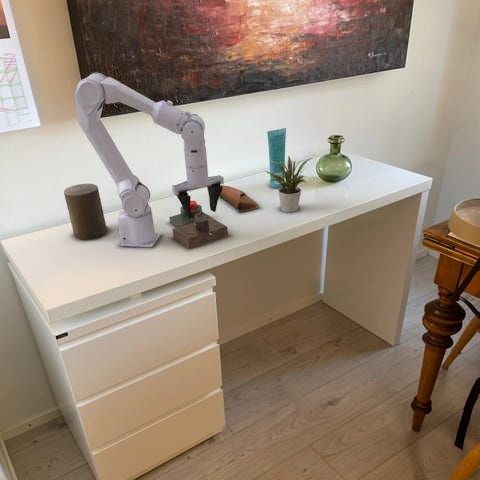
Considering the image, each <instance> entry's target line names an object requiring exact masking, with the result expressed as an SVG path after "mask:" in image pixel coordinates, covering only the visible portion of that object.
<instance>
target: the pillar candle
mask: <svg viewBox="0 0 480 480" xmlns="http://www.w3.org/2000/svg"><path fill="white" fill-rule="evenodd" d="M63 196H64V199H65V203H66V207H67V211H68V216H69V220H70V224H71V228H72V232H73V236H74V237H75V238H76V239H79V240H82V241H87V240H90V241H91V240H94V239H95V240H96V239H100V238H102V237H103V236H104V235H106V234H107V233H108V228H107V223H106V219H105V214H104V210H103V205H102V200H101V194H100V191H99V186H98V185H97V184H94V183H79V184H74V185H71V186H68V187H66V188H64V190H63Z"/></svg>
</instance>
